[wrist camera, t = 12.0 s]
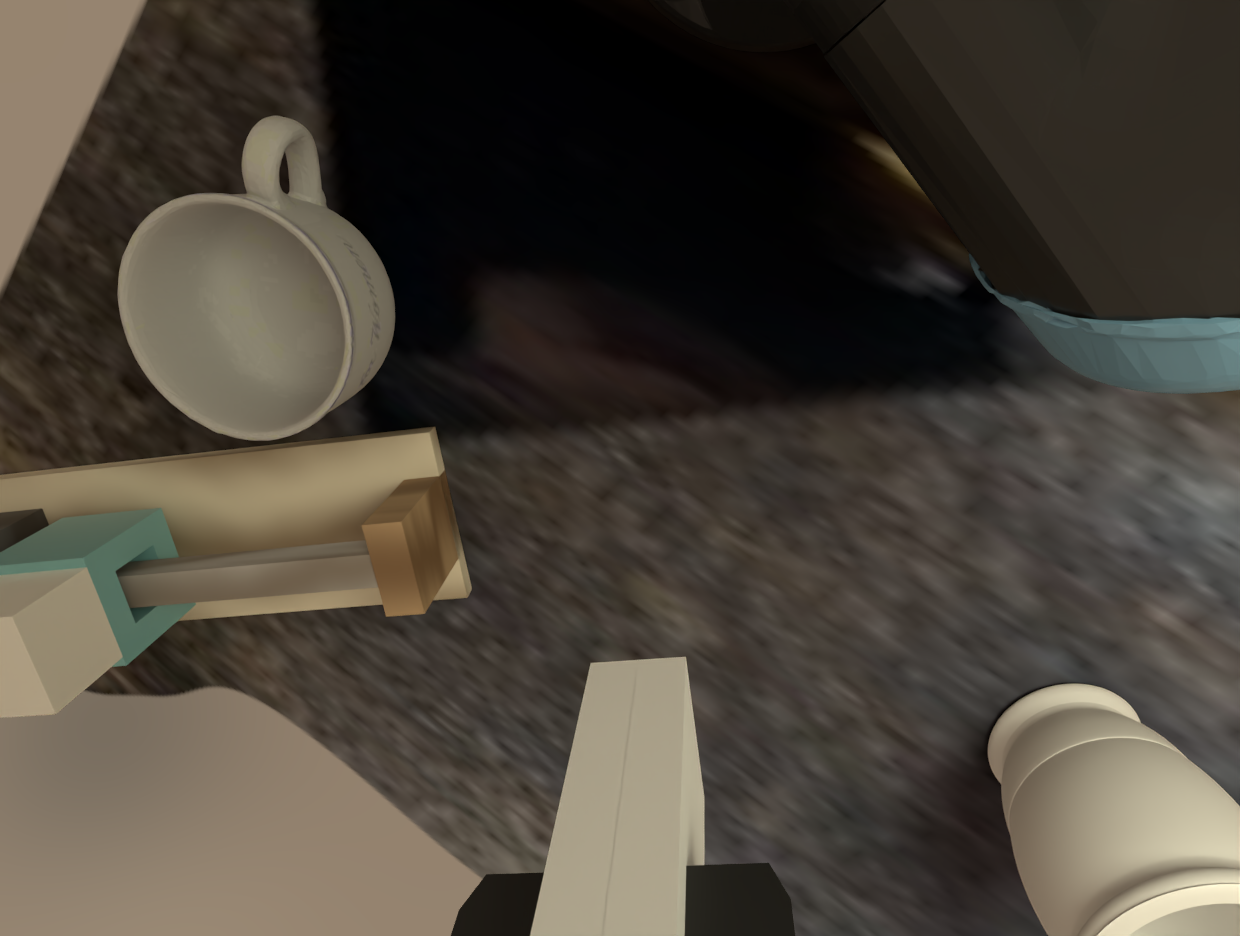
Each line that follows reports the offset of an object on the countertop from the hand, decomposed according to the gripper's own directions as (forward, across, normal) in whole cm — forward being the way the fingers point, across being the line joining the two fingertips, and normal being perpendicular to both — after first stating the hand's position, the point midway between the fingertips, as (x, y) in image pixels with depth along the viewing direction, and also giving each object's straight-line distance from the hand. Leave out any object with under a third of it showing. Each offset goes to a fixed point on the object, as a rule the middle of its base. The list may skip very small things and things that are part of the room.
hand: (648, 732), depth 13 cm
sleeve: (+27, -32, -8) cm, 43 cm away
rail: (+30, -28, -8) cm, 42 cm away
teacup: (+31, -18, +6) cm, 36 cm away
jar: (+31, +19, -26) cm, 44 cm away
